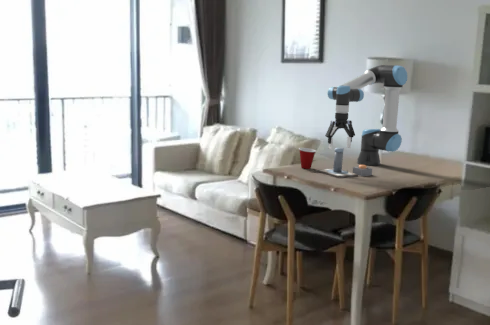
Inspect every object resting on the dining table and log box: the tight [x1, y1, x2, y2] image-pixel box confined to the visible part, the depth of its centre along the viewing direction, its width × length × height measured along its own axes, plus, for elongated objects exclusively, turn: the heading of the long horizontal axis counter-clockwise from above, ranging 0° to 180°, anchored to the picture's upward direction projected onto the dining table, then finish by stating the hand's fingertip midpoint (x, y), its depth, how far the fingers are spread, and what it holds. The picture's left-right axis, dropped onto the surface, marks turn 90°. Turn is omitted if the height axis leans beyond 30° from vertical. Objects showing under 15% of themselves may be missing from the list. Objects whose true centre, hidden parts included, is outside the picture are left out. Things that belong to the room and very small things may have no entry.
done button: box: [358, 164, 368, 169], centre depth 327 cm, size 4×4×2 cm
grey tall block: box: [332, 147, 344, 173], centre depth 325 cm, size 5×5×14 cm
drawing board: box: [316, 168, 359, 179], centre depth 326 cm, size 15×20×1 cm
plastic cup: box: [298, 147, 317, 170], centre depth 339 cm, size 11×11×12 cm
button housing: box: [352, 166, 373, 177], centre depth 328 cm, size 8×8×4 cm
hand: (339, 148), depth 324 cm, fingers open, 13 cm apart
